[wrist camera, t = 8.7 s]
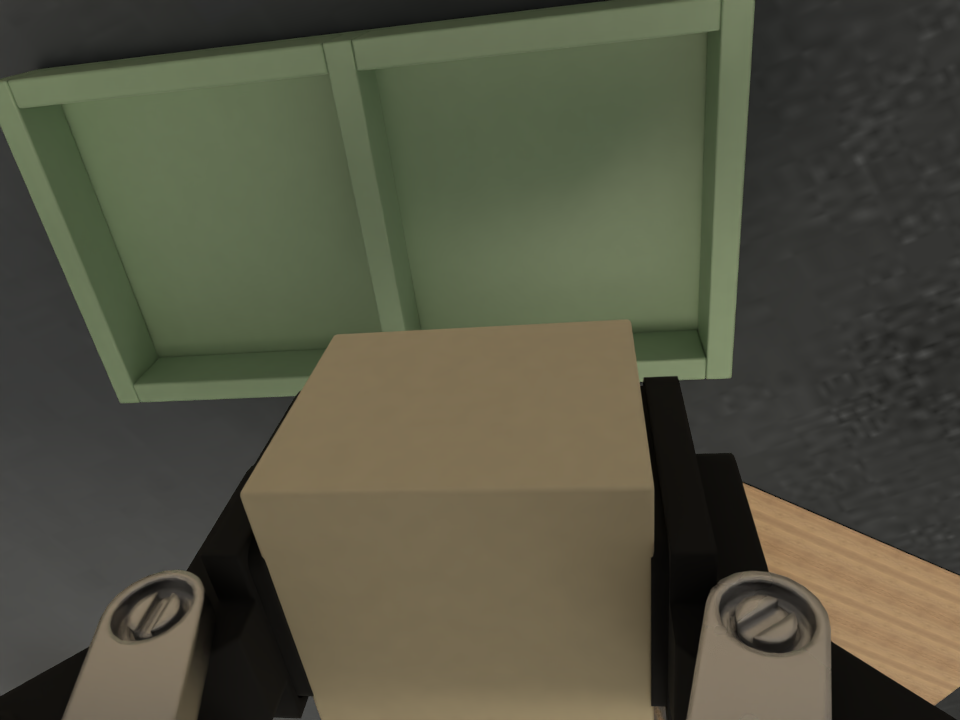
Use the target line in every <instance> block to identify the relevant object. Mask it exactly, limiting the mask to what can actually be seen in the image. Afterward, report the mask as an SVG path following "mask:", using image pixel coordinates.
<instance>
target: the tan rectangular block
mask: <svg viewBox="0 0 960 720" xmlns="http://www.w3.org/2000/svg"><path fill="white" fill-rule="evenodd" d="M240 497H241V500H242V503H243V506H244V508H245V511H246V514H247V517H248V519H249V522H250V525H251V528H252V530H253V533H254V536H255V539H256V541H257V544H258V547H259V550H260V552H261V555H262V557H263V558H264V559H265V562H266V564H267V567H268V570H269V573H270V575H271V578H272V581H273V584H274V587H275V589H276V592H277V595H278V598H279V600H280V603H281V606H282V609H283V611H284V614H285V617H286V620H287V622H288V625H289V628H290V631H291V634H292V636H293V639H294V642H295V645H296V647H297V650H298V653H299V656H300V658H301V661H302V664H303V667H304V670H305V672H306V675H307V678H308V681H309V683H310V686H311V689H312V692H313V694H314V696H313V698H314V701H315V704H316V707H317V709H318V712H319V715H320V718H321V720H654V706H651V557H653V554H654V482H653V475H652V468H651V461H650V453H649V446H648V439H647V432H646V425H645V418H644V411H643V404H642V396H641V389H640V382H639V375H638V368H637V361H636V354H635V347H634V339H633V332H632V325H631V322H630V320H627V319H625V320H606V321H586V322H567V323H548V324H529V325H509V326H490V327H471V328H451V329H432V330H413V331H394V332H374V333H355V334H337V335H335V336H334V337H333V338H332V340H331V342H330V343H329V345H328V347H327V348H326V350H325V352H324V353H323V355H322V357H321V358H320V360H319V362H318V363H317V365H316V367H315V368H314V370H313V372H312V374H311V375H310V377H309V379H308V380H307V382H306V384H305V385H304V387H303V389H302V390H301V392H300V394H299V395H298V397H297V399H296V400H295V402H294V404H293V405H292V407H291V409H290V410H289V412H288V414H287V415H286V417H285V419H284V420H283V422H282V424H281V425H280V427H279V429H278V430H277V432H276V434H275V435H274V437H273V439H272V440H271V442H270V444H269V445H268V447H267V449H266V450H265V452H264V454H263V456H262V457H261V459H260V461H259V462H258V464H257V466H256V467H255V469H254V471H253V472H252V474H251V476H250V477H249V479H248V481H247V482H246V484H245V486H244V487H243V489H242V491H241V494H240Z"/></svg>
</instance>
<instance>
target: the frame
mask: <svg viewBox="0 0 960 720" xmlns="http://www.w3.org/2000/svg"><path fill="white" fill-rule="evenodd" d="M754 10H755V0H609V1H601V2H592V3H584V4H576V5H568V6H559V7H551V8H543V9H534V10H526V11H518V12H509V13H501V14H493V15H484V16H476V17H468V18H460V19H451V20H443V21H435V22H426V23H418V24H410V25H401V26H393V27H385V28H377V29H368V30H360V31H352V32H343V33H335V34H327V35H318V36H310V37H302V38H293V39H285V40H277V41H269V42H260V43H252V44H244V45H235V46H227V47H219V48H210V49H202V50H194V51H185V52H177V53H169V54H161V55H152V56H144V57H136V58H127V59H119V60H111V61H102V62H94V63H86V64H78V65H69V66H61V67H53V68H44V69H37V70H33V71H29V72H26V73H22V74H18V75H14V76H10V77H6V78H2V79H0V126H1V128H2V131H3V133H4V135H5V137H6V140H7V142H8V144H9V147H10V149H11V151H12V154H13V156H14V158H15V161H16V163H17V165H18V168H19V170H20V172H21V175H22V177H23V179H24V182H25V184H26V186H27V188H28V191H29V193H30V195H31V198H32V200H33V202H34V205H35V207H36V209H37V212H38V214H39V216H40V219H41V221H42V223H43V226H44V228H45V230H46V233H47V235H48V237H49V240H50V242H51V244H52V246H53V249H54V251H55V253H56V256H57V258H58V260H59V263H60V265H61V267H62V270H63V272H64V274H65V277H66V279H67V281H68V284H69V286H70V288H71V291H72V293H73V295H74V298H75V300H76V302H77V304H78V307H79V309H80V311H81V314H82V316H83V318H84V321H85V323H86V325H87V328H88V330H89V332H90V335H91V337H92V339H93V342H94V344H95V346H96V349H97V351H98V353H99V355H100V358H101V360H102V362H103V365H104V367H105V369H106V372H107V374H108V376H109V379H110V381H111V383H112V386H113V388H114V390H115V393H116V395H117V397H118V400H119V402H120V403H138V402H162V401H186V400H209V399H233V398H257V397H281V396H296V395H297V393H298V392H299V391H301V390H302V389H303V387H304V385H305V384H306V382H307V380H308V379H309V377H310V375H311V374H312V372H313V370H314V368H315V367H316V365H317V363H318V362H319V360H320V358H321V357H322V355H323V353H324V352H325V350H326V348H327V347H328V345H329V343H330V342H331V340H332V338H333V337H334V336H335V335H337V334H355V333H374V332H394V331H413V330H432V329H451V328H471V327H490V326H509V325H529V324H548V323H567V322H586V321H606V320H625V319H627V320H630V322H631V325H632V332H633V339H634V347H635V354H636V361H637V368H638V375H639V382H643V379H644V377H663V376H678V379H679V380H693V379H705V377H706V379H721V378H731V376H732V363H733V347H734V331H735V315H736V299H737V283H738V267H739V250H740V234H741V218H742V202H743V186H744V170H745V154H746V138H747V122H748V106H749V90H750V74H751V58H752V42H753V26H754Z"/></svg>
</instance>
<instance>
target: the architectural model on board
mask: <svg viewBox="0 0 960 720" xmlns="http://www.w3.org/2000/svg"><path fill="white" fill-rule="evenodd" d="M743 486H744V490H745V493H746V496H747V500H748V503H749V507H750V510H751V513H752V517H753V520H754V523H755V527H756V530H757V533H758V537H759V540H760V543H761V547H762V550H763V553H764V557H765V560H766V563H767V567H768V570H769V572H771V573H775V574H778V575H782V576H785V577H788V578H790V579H792V580H794V581H796V582H797V583H799V584H801V585H803V586H805V587H806V588H807V589H808V590H809V591H810V592H811V593H813V594H814V595H815V596H816V597H817V598H818V599H819V600H820V602H821V604H822V605H823V607H824V608H825V610H826V611H827V613H828V618H829V622H830V627H831V641H832V642H833V643H835V644H837V645H838V646H840V647H841V648H843V649H845V650H846V651H848V652H849V653H851V654H853V655H854V656H856V657H857V658H859V659H861V660H862V661H864V662H865V663H867V664H869V665H870V666H872V667H873V668H875V669H877V670H878V671H880V672H881V673H883V674H884V675H886V676H888V677H889V678H891V679H892V680H894V681H896V682H897V683H899V684H900V685H902V686H904V687H905V688H907V689H908V690H910V691H912V692H913V693H915V694H916V695H918V696H920V697H921V698H923V699H924V700H926V701H928V702H929V703H931V704H932V705H936V704H937V703H938V702H940V701H941V700H942V699H944V698H945V697H946V696H948V695H949V694H950V693H952V692H953V691H954V690H956V689H957V688H958V687H960V576H958V575H956V574H954V573H951V572H949V571H947V570H944V569H942V568H940V567H938V566H935V565H933V564H931V563H928V562H926V561H924V560H921V559H919V558H917V557H914V556H912V555H910V554H907V553H905V552H903V551H900V550H898V549H896V548H893V547H891V546H889V545H886V544H884V543H882V542H879V541H877V540H875V539H872V538H870V537H868V536H865V535H863V534H861V533H858V532H856V531H854V530H851V529H849V528H847V527H844V526H842V525H840V524H837V523H835V522H833V521H830V520H828V519H826V518H823V517H821V516H819V515H816V514H814V513H812V512H809V511H807V510H805V509H802V508H800V507H798V506H796V505H793V504H791V503H789V502H786V501H784V500H782V499H779V498H777V497H775V496H772V495H770V494H768V493H765V492H763V491H761V490H758V489H756V488H754V487H751V486H749V485H747V484H744V483H743ZM654 720H667V719H666V710H665V707H660V706H654Z"/></svg>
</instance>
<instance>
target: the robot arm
mask: <svg viewBox="0 0 960 720" xmlns="http://www.w3.org/2000/svg"><path fill="white" fill-rule="evenodd" d="M640 389H641V396H642V404H643V411H644V418H645V425H646V432H647V439H648V446H649V453H650V461H651V468H652V475H653V482H654V554H653V557H651V706H660V707H665V710H666V719H667V720H956V719H955V718H953V717H952V716H950V715H948V714H947V713H945V712H944V711H942V710H940V709H939V708H937V707H936V706H934V705H932V704H931V703H929V702H928V701H926V700H924V699H923V698H921V697H920V696H918V695H916V694H915V693H913V692H912V691H910V690H908V689H907V688H905V687H904V686H902V685H900V684H899V683H897V682H896V681H894V680H892V679H891V678H889V677H888V676H886V675H884V674H883V673H881V672H880V671H878V670H877V669H875V668H873V667H872V666H870V665H869V664H867V663H865V662H864V661H862V660H861V659H859V658H857V657H856V656H854V655H853V654H851V653H849V652H848V651H846V650H845V649H843V648H841V647H840V646H838V645H837V644H835V643H833V642H832V641H831V627H830V622H829V618H828V613H827V611H826V610H825V608H824V607H823V605H822V604H821V602H820V600H819V599H818V598H817V597H816V596H815V595H814V594H813V593H811V592H810V591H809V590H808V589H807V588H806V587H805V586H803V585H801V584H799V583H797V582H796V581H794V580H792V579H790V578H788V577H785V576H782V575H778V574H775V573H771V572H769V570H768V567H767V563H766V560H765V557H764V553H763V550H762V547H761V543H760V540H759V537H758V533H757V530H756V527H755V523H754V520H753V517H752V513H751V510H750V507H749V503H748V500H747V496H746V493H745V490H744V486H743V483H742V480H741V476H740V473H739V470H738V466H737V463H736V460H735V458H734V455H733V454H732V453H718V454H695V450H694V445H693V441H692V436H691V432H690V428H689V423H688V419H687V414H686V410H685V405H684V401H683V397H682V392H681V388H680V383H679V379H678V376H663V377H644V379H643V386H640ZM300 392H301V391H299V392H298V393H297V395H296V396H295V398H294V400H293V401H292V403H291V405H290V406H289V408H288V410H287V411H286V413H285V415H284V416H283V418H282V420H281V421H280V423H279V425H278V426H277V428H276V429H275V431H274V433H273V434H272V436H271V438H270V439H269V441H268V443H267V444H266V446H265V448H264V449H263V451H262V453H261V454H260V456H259V458H258V459H257V461H256V463H255V464H254V466H251V468H250V469H249V470H248V471H247V472H246V474H245V476H244V477H243V479H242V481H241V482H240V484H239V486H238V487H237V489H236V490H235V492H234V494H233V495H232V497H231V499H230V500H229V502H228V504H227V505H226V507H225V509H224V510H223V512H222V513H221V515H220V517H219V518H218V520H217V522H216V523H215V525H214V527H213V528H212V530H211V532H210V533H209V535H208V536H207V538H206V540H205V541H204V543H203V545H202V546H201V548H200V550H199V551H198V553H197V555H196V556H195V558H194V560H193V561H192V563H191V564H190V566H189V568H188V569H187V571H182V570H170V571H162V572H159V573H156V574H152V575H149V576H147V577H145V578H143V579H141V580H139V581H137V582H135V583H133V584H131V585H130V586H129V587H127V588H126V589H124V590H123V591H122V592H120V593H119V594H118V595H117V596H116V597H115V598H114V599H113V600H112V602H111V603H110V604H109V605H108V606H107V608H106V609H105V611H104V613H103V615H102V616H101V618H100V621H99V623H98V626H97V629H96V631H95V634H94V636H93V639H92V642H91V644H90V647H88V648H86V649H84V650H83V651H81V652H79V653H77V654H75V655H74V656H72V657H70V658H68V659H66V660H65V661H63V662H61V663H59V664H58V665H56V666H54V667H52V668H50V669H49V670H47V671H45V672H43V673H41V674H40V675H38V676H36V677H34V678H33V679H31V680H29V681H27V682H25V683H24V684H22V685H20V686H18V687H16V688H15V689H13V690H11V691H9V692H7V693H6V694H4V695H2V696H0V720H272V719H273V717H279V718H301V716H302V714H303V711H304V708H305V705H306V702H307V699H308V696H314V694H313V692H312V689H311V686H310V683H309V681H308V678H307V675H306V672H305V670H304V667H303V664H302V661H301V658H300V656H299V653H298V650H297V647H296V645H295V642H294V639H293V636H292V634H291V631H290V628H289V625H288V622H287V620H286V617H285V614H284V611H283V609H282V606H281V603H280V600H279V598H278V595H277V592H276V589H275V587H274V584H273V581H272V578H271V575H270V573H269V570H268V567H267V564H266V562H265V559H264V558H263V557H262V555H261V552H260V550H259V547H258V544H257V541H256V539H255V536H254V533H253V530H252V528H251V525H250V522H249V519H248V517H247V514H246V511H245V508H244V506H243V503H242V500H241V497H240V494H241V491H242V489H243V487H244V486H245V484H246V482H247V481H248V479H249V477H250V476H251V474H252V472H253V471H254V469H255V467H256V466H257V464H258V462H259V461H260V459H261V457H262V456H263V454H264V452H265V450H266V449H267V447H268V445H269V444H270V442H271V440H272V439H273V437H274V435H275V434H276V432H277V430H278V429H279V427H280V425H281V424H282V422H283V420H284V419H285V417H286V415H287V414H288V412H289V410H290V409H291V407H292V405H293V404H294V402H295V400H296V399H297V397H298V395H299V394H300Z"/></svg>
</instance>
